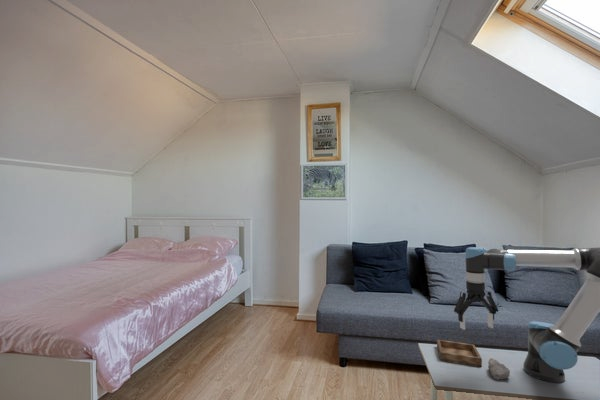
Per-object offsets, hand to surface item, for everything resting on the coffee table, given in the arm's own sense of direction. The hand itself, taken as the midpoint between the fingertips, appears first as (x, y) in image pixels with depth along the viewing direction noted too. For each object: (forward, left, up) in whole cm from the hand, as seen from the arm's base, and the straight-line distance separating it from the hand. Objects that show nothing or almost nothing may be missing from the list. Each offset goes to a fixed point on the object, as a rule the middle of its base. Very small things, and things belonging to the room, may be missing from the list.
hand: (476, 327), depth 144 cm
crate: (+5, -16, -21) cm, 27 cm away
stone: (-9, -2, -21) cm, 23 cm away
